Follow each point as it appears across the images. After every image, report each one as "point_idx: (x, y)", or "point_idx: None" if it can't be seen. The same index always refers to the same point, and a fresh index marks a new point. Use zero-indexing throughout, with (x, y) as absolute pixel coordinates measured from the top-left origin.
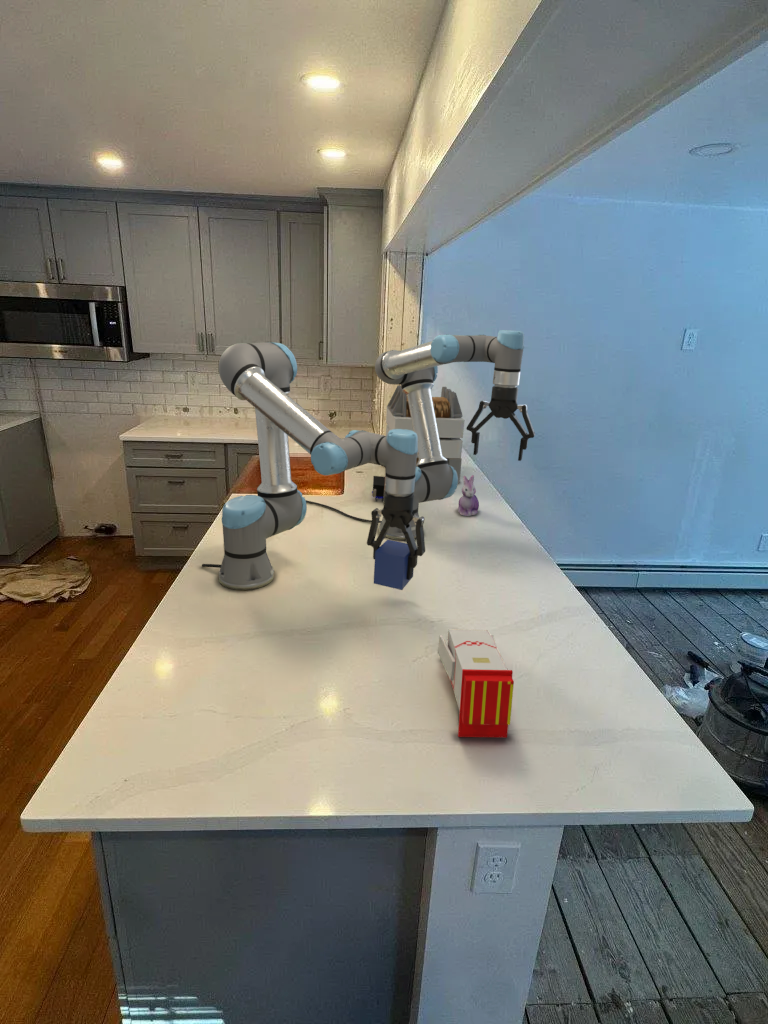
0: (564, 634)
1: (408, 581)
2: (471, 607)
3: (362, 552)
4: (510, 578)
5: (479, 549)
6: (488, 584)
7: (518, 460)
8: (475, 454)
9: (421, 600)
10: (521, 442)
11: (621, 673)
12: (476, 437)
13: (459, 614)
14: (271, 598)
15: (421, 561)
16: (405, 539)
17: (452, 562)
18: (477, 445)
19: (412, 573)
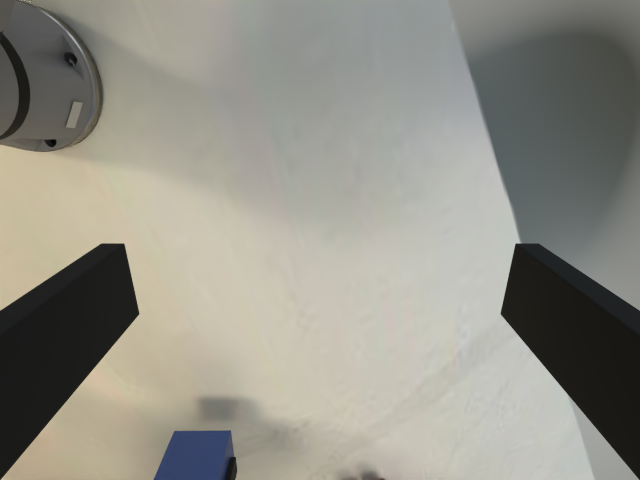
0: (495, 390)
1: (232, 451)
2: (341, 374)
3: (44, 258)
4: (394, 239)
5: (290, 98)
6: (353, 285)
7: (505, 315)
8: (135, 315)
9: (256, 386)
10: (638, 459)
11: (561, 442)
12: (8, 451)
13: (328, 399)
14: (52, 461)
15: (185, 244)
16: (82, 139)
17: (251, 217)
18: (84, 329)
19: (234, 463)
